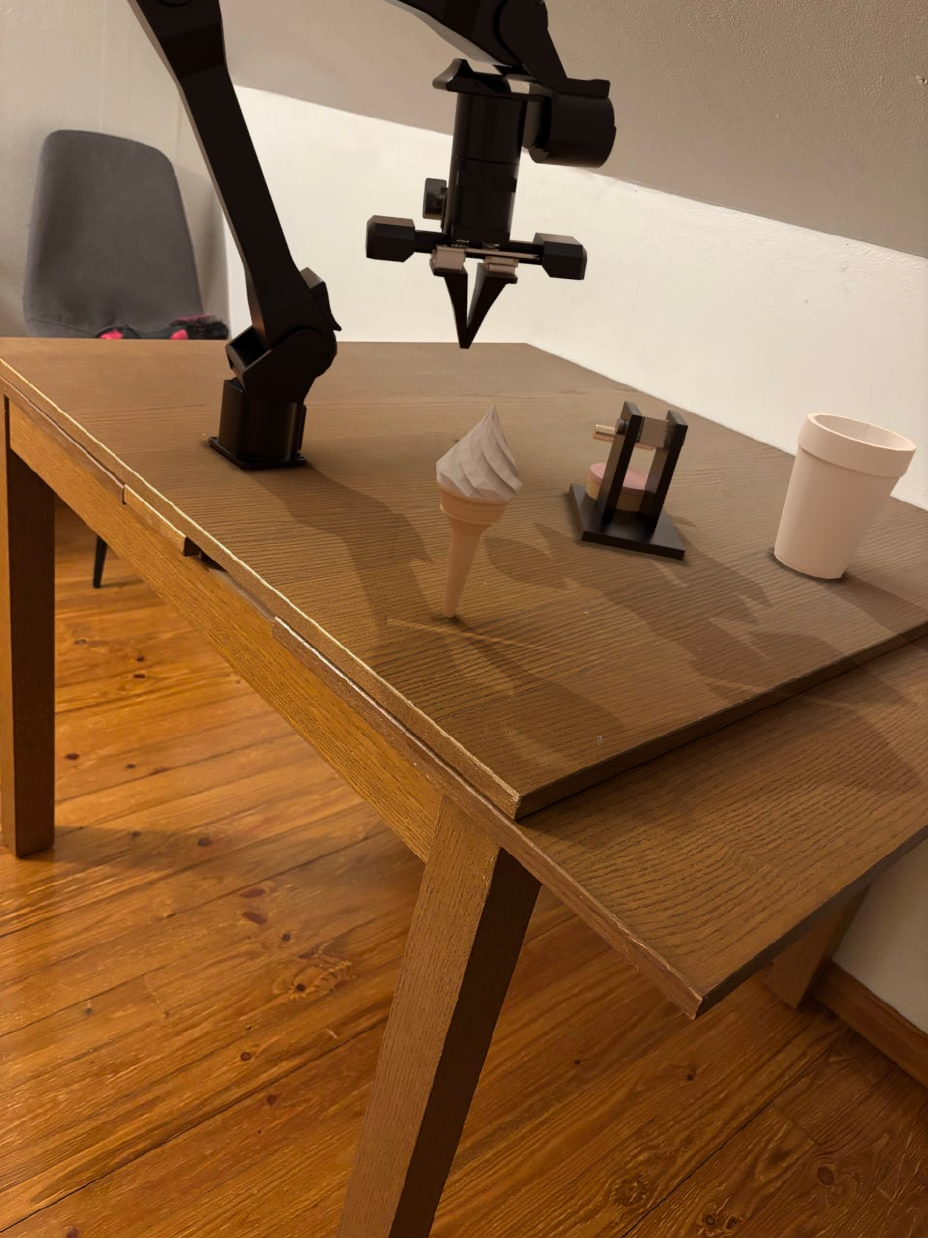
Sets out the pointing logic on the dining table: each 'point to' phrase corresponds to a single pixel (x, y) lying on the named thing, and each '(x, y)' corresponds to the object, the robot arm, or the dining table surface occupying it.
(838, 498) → the foam cup
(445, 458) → the ice cream cone
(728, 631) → the dining table surface
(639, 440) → the lever
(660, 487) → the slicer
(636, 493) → the cake
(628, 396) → the dining table surface
